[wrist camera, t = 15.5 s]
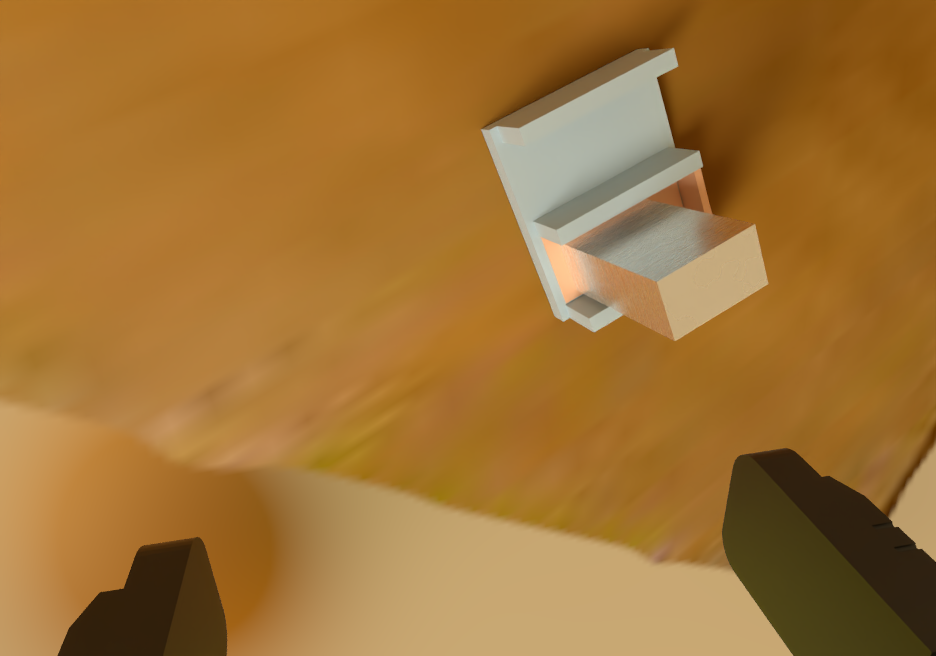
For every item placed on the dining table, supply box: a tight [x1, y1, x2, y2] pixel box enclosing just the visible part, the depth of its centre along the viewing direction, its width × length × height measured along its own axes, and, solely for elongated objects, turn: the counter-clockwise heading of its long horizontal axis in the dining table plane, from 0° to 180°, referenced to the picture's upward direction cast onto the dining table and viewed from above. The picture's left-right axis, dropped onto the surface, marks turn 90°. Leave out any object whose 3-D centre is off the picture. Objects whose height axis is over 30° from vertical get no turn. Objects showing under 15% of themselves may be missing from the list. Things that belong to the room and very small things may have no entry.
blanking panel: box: [560, 199, 768, 341], centre depth 38 cm, size 6×4×10 cm, turn 114°
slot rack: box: [481, 48, 712, 332], centre depth 40 cm, size 11×13×4 cm
